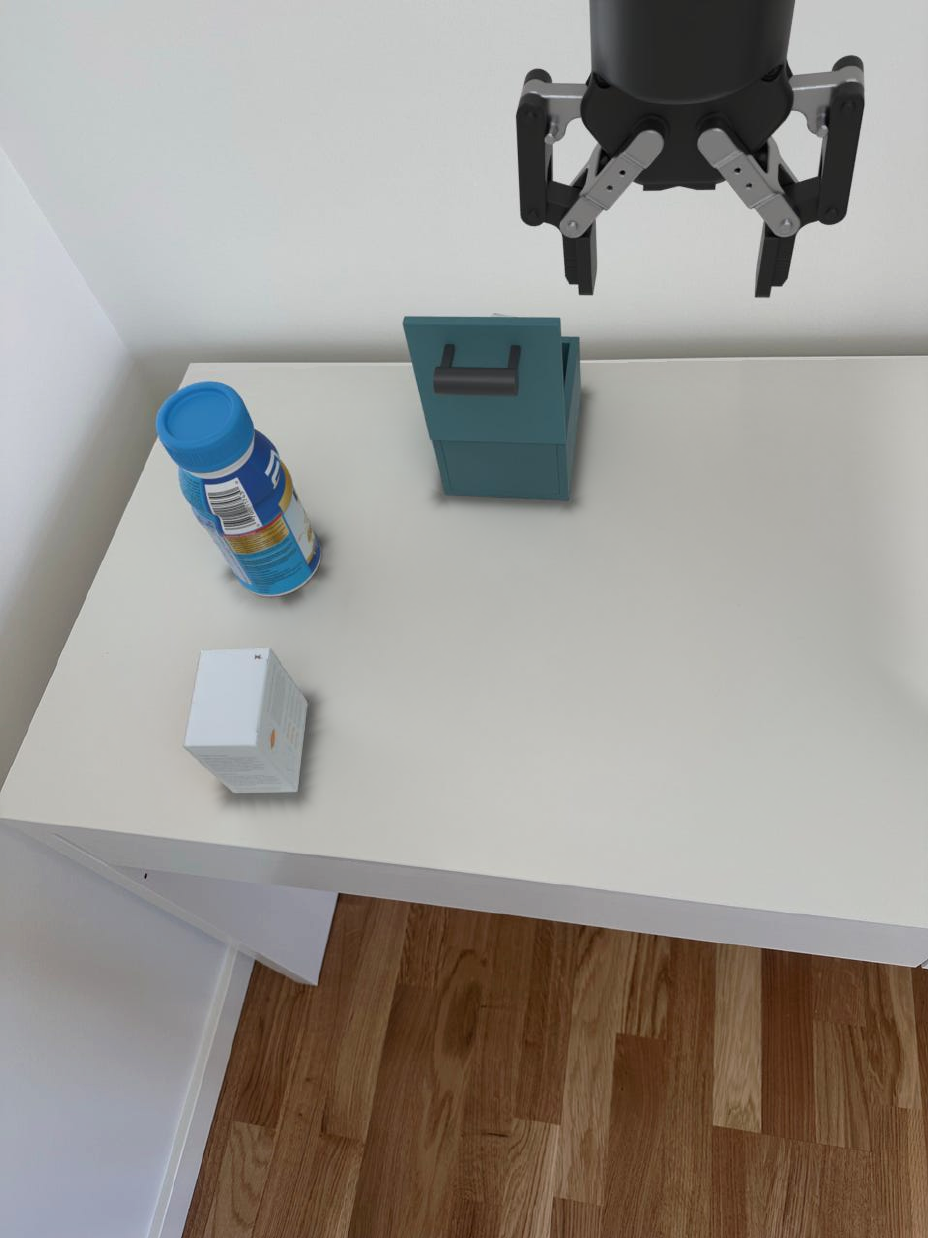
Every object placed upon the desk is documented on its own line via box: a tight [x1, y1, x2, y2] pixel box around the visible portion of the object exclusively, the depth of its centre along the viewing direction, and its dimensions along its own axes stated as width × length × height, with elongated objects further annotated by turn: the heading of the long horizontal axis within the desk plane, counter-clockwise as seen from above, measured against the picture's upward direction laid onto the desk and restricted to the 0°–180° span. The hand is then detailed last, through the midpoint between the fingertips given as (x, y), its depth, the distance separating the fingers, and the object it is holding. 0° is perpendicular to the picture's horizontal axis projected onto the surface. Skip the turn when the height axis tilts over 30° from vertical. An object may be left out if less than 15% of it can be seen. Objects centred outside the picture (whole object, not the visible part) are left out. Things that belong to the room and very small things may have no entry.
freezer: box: [431, 335, 582, 501], centre depth 84 cm, size 13×12×8 cm
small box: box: [182, 647, 309, 794], centre depth 71 cm, size 8×6×10 cm
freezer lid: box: [402, 315, 566, 444], centre depth 71 cm, size 13×12×5 cm
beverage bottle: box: [155, 380, 322, 597], centre depth 76 cm, size 8×8×20 cm
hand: (674, 285), depth 46 cm, fingers open, 8 cm apart
